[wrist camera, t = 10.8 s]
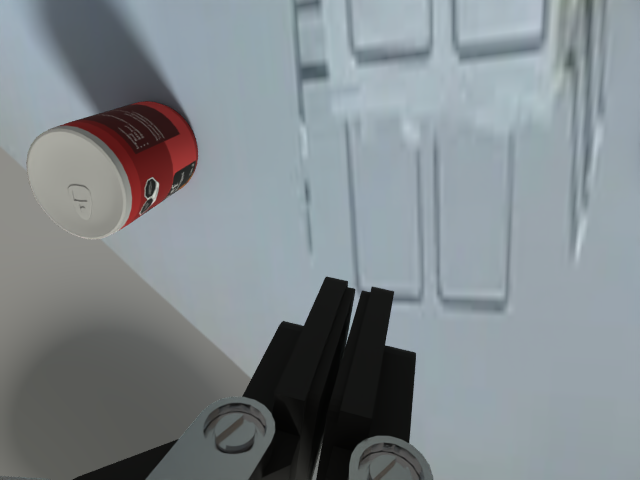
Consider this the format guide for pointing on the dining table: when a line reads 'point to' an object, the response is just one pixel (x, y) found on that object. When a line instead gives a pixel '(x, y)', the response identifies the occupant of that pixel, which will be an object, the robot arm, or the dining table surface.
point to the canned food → (111, 167)
